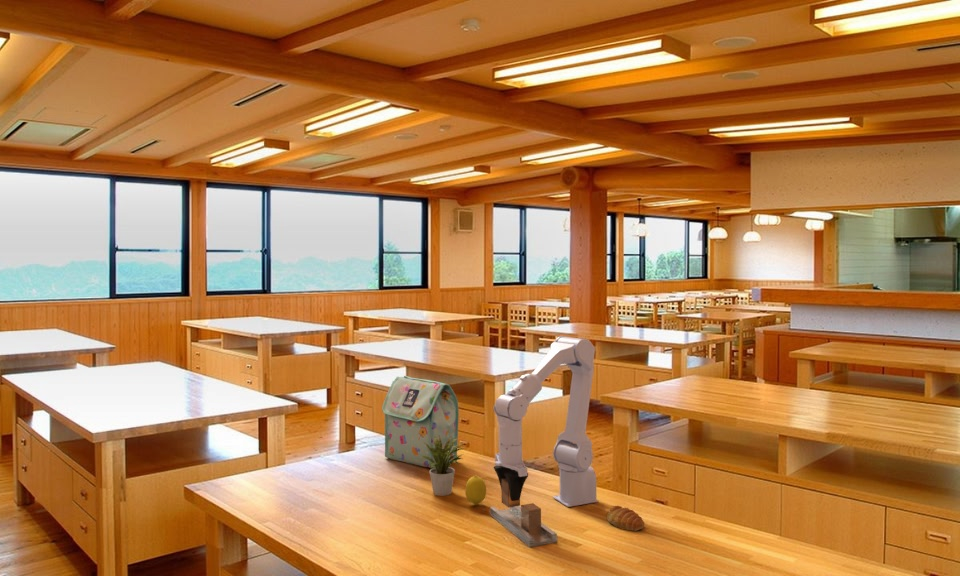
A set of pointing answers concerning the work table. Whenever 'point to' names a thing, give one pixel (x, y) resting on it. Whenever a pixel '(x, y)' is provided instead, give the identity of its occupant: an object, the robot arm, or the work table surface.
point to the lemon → (475, 490)
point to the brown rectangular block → (507, 495)
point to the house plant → (442, 466)
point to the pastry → (625, 518)
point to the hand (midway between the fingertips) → (510, 497)
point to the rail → (516, 528)
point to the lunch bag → (419, 419)
